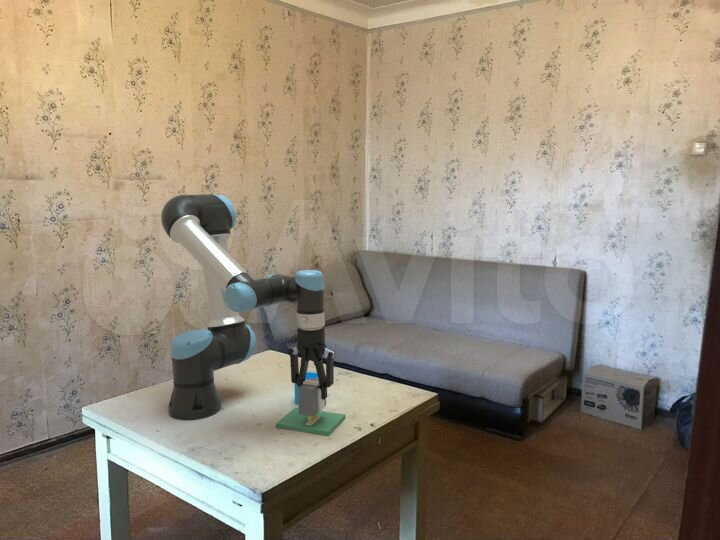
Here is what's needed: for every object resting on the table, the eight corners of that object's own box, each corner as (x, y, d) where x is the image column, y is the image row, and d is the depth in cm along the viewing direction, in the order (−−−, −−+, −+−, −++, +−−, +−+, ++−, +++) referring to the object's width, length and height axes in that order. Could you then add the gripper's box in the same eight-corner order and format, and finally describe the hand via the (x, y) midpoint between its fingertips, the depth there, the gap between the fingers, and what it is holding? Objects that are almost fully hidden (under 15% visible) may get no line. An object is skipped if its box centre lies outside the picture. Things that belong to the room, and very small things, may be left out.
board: (275, 427, 151) (275, 411, 150) (295, 411, 162) (295, 396, 161) (328, 435, 145) (328, 419, 145) (345, 418, 157) (345, 402, 156)
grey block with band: (298, 414, 148) (297, 385, 147) (311, 403, 156) (311, 375, 155) (313, 416, 147) (313, 387, 146) (326, 405, 155) (325, 377, 154)
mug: (305, 408, 164) (304, 382, 163) (289, 401, 170) (289, 376, 169) (335, 398, 172) (335, 373, 171) (320, 391, 178) (319, 367, 177)
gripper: (275, 327, 148) (278, 409, 151) (335, 332, 142) (336, 418, 145) (288, 321, 155) (291, 400, 158) (345, 326, 149) (347, 407, 152)
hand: (313, 408), depth 152 cm, fingers closed on grey block with band, 4 cm apart
